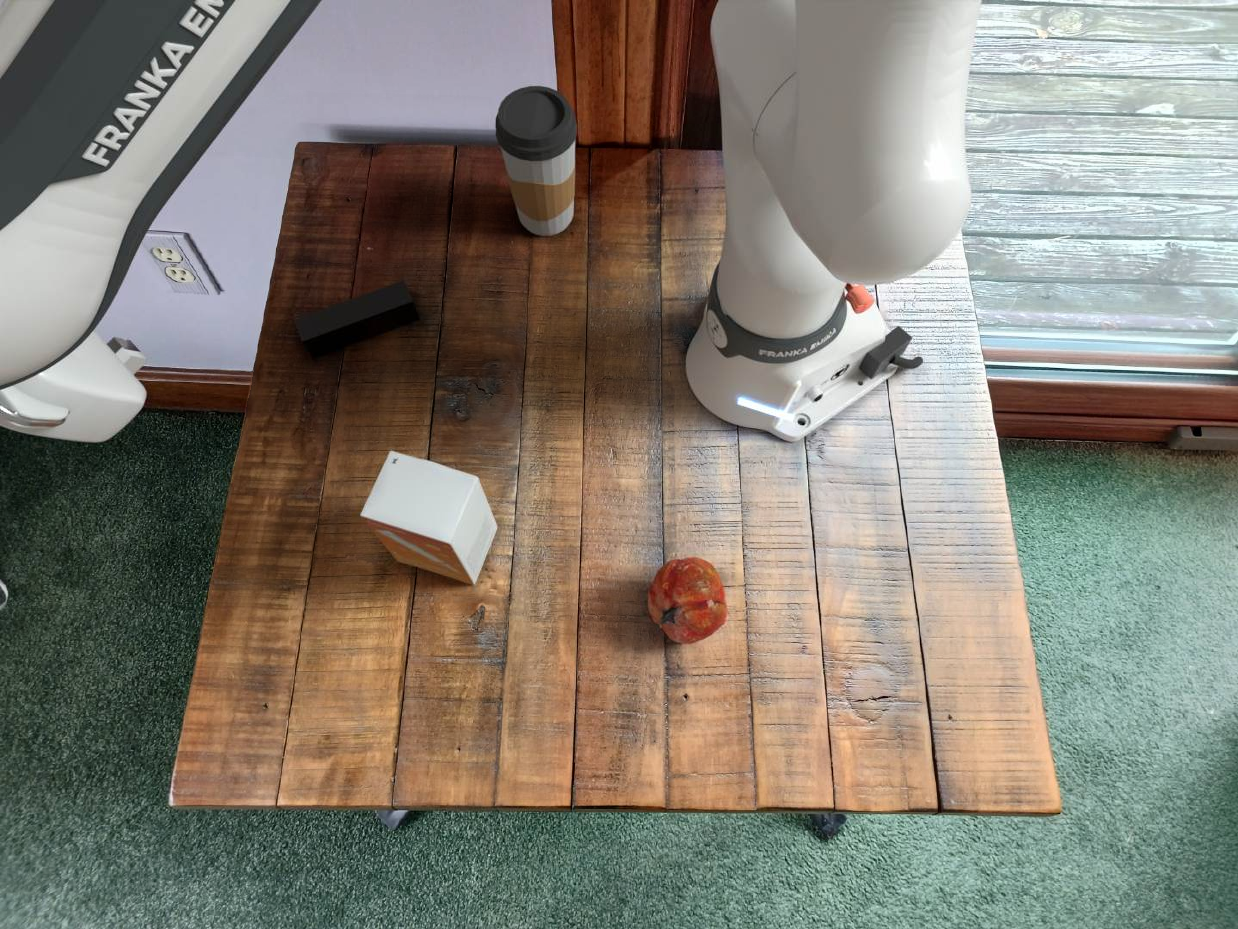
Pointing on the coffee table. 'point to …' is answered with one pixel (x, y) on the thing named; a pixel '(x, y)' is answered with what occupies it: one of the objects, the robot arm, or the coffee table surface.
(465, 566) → the small box
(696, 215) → the coffee table surface
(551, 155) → the coffee cup
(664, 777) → the coffee table surface
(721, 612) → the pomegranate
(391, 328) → the bar
